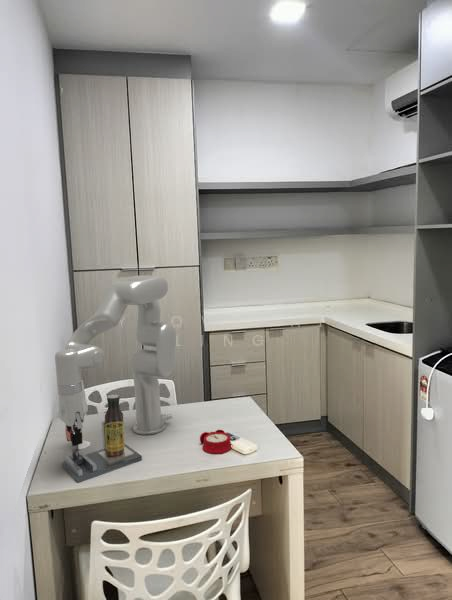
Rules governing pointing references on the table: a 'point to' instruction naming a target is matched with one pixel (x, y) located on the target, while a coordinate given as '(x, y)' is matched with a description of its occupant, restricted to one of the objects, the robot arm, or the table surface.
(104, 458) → the base
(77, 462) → the press lever
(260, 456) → the table surface
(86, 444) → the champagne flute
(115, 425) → the sauce bottle
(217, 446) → the alarm clock
